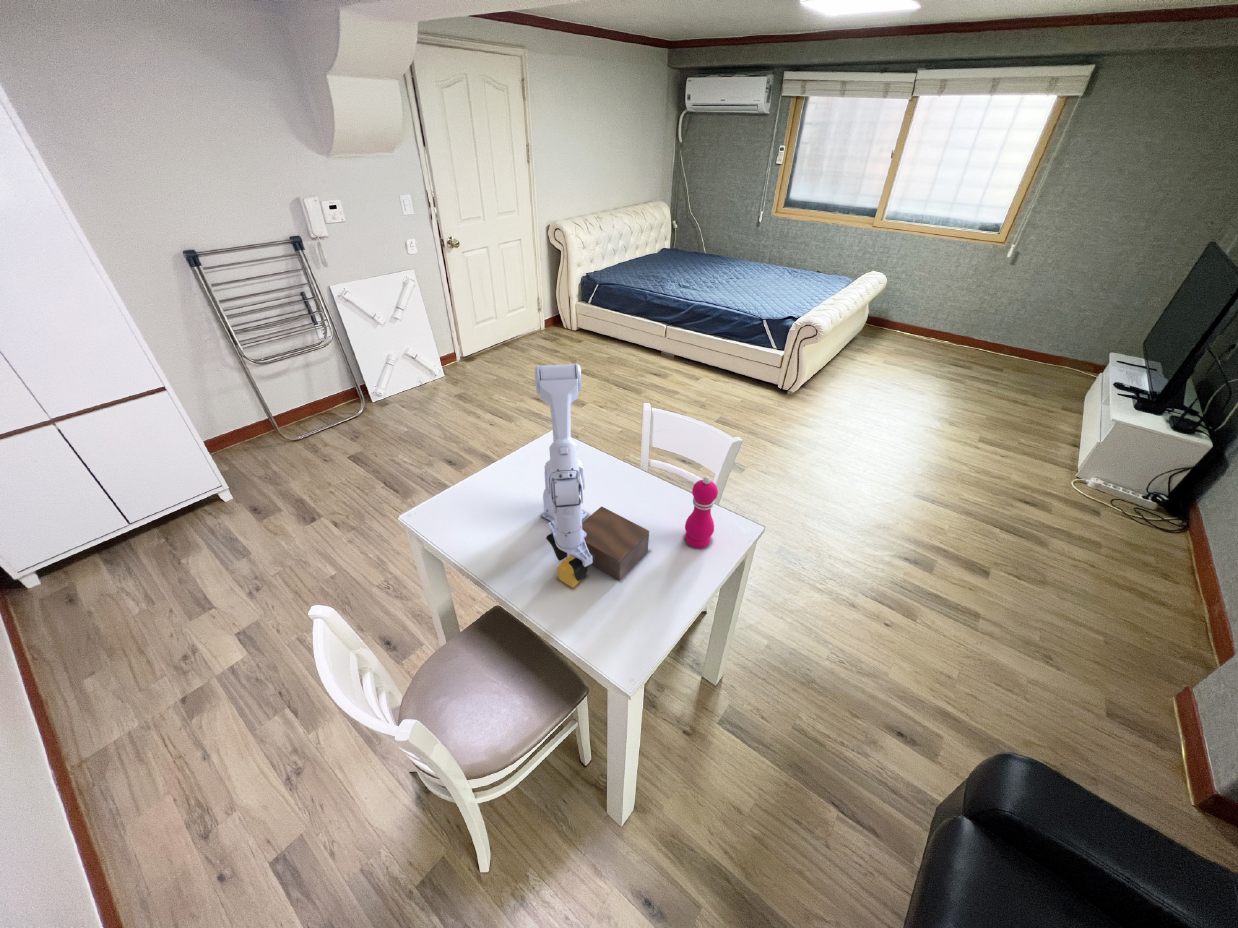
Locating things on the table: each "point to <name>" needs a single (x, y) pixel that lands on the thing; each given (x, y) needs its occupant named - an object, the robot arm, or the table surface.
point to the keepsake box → (625, 564)
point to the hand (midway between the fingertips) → (571, 568)
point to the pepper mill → (701, 514)
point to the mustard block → (567, 572)
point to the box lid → (612, 534)
